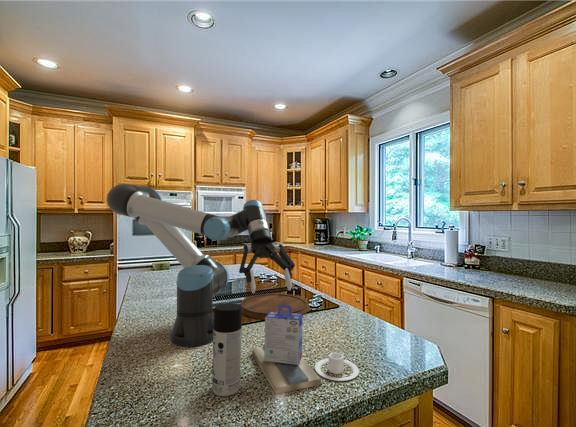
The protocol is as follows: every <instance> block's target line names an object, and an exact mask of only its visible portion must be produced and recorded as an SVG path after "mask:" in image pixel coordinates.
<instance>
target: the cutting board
mask: <svg viewBox="0 0 576 427" xmlns="http://www.w3.org/2000/svg"><path fill="white" fill-rule="evenodd" d="M239 305H241V307H242V316H243V315H244V316H246V317H249V318H252V319H256V320H264V321H265V317H266V316H267V315H268V314H269V313H270V312H278V310H279V305H288V306H292V307H291V313H295V314H302V315H303V316H305V315H306V314H308V313H309V312H308V311H310V310H309V309H311V308H310V305H309V303H308V302H307V301H306V300H305V299H303V298H301V297H299V296H296V295H292V294H291V295H290V294H284V293H263V294H256V295H251V296H249V297H246V298H244V299H242V300H241V302H240V303H239ZM281 310H282V311H289V309H288V308H281ZM307 312H308V313H307Z"/></svg>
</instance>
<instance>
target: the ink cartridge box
mask: <svg viewBox="0 0 576 427" xmlns="http://www.w3.org/2000/svg"><path fill="white" fill-rule="evenodd" d="M291 307H292V306H288V305H279V310H278V312H270V313H269V314H268V315H267V316H266V317H265V320H264V344H265V350H264V361H270V362H278V363H286V364H294V365H299V362H300V360H301V358H303V326H304V325H303V324H304V323H303V321H304V320H303V318H304V317H303V316H304V315H302V314H295V313H291ZM281 308H288V309H289V311H282V310H281Z"/></svg>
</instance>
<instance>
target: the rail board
mask: <svg viewBox="0 0 576 427" xmlns="http://www.w3.org/2000/svg"><path fill="white" fill-rule="evenodd" d="M264 350H265V343H263V344H262V346H259V347H252V350H251V351H252V352H251V353H252V355H253V358H254V359H255V361H256V363H257V364H258V366H259V369H260V370H261V371H262V373H263V375H264V377H265V378H266V380H267V382H268V384H269V385H270V387H271V389H272V390H273V392H274V394H275V395H280V394H283V393H289V392H293V391H299V390H302V389H308V388H312V387H316V386H322V378H321V376H320V375H319V374H318V373H317V372H316V370H315V369H313V368H312V367H311V366H310V364H309V363H308V362H307V361H306V360H305V359H304V357H302V358H301V360H300V362H299V365H294V364H286V363H278V362H270V361H264Z"/></svg>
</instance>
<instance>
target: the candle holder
mask: <svg viewBox="0 0 576 427" xmlns="http://www.w3.org/2000/svg"><path fill="white" fill-rule="evenodd" d="M327 363H328V364H327ZM324 364H327V366H328V372H330V373H331V374H333V375H341V374H343V373H344V371H345V365H347V366H348V367H349V368H351V370H352V373H351V374H350V375H349V376H346V377H336V376H335V377H334V376H332V375H331V376H330V375H327V374H326V373H324V372H323V371H322V369H321V368H322V366H323V365H324ZM314 371H315V372H316V374H317V375H318V376H320V377H322V378H324V379H328V380H331V381H336V382H345V381H350V380H354V379H355V378H357V377H358V376H359V374H360V369H359V367H358V366H357V365H356V364H355V363H353V362H351V361H349V360H347V359H345V357H344V354H342V353H340V352H331V353H329V354H328V358H327V357H326V358H323V359H321V360H318V361H317V362H316V363H315V365H314Z"/></svg>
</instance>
